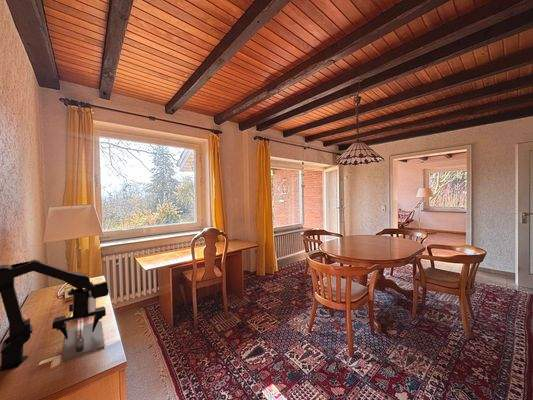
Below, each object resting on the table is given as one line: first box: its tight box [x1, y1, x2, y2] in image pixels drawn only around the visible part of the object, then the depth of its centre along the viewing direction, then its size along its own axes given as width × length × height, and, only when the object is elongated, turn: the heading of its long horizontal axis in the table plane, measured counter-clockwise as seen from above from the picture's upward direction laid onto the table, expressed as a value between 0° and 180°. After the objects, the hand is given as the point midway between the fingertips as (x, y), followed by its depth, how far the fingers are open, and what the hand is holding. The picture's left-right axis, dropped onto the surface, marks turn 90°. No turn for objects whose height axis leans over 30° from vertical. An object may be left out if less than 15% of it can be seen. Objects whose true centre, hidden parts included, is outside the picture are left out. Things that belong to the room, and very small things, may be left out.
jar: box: [88, 291, 97, 313], centre depth 130 cm, size 9×8×12 cm
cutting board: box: [61, 320, 106, 363], centre depth 105 cm, size 26×14×1 cm, turn 39°
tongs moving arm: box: [80, 318, 84, 338], centre depth 106 cm, size 20×1×4 cm, turn 39°
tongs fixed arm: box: [76, 319, 84, 352], centre depth 105 cm, size 23×3×4 cm, turn 39°
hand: (80, 335), depth 104 cm, fingers open, 9 cm apart
